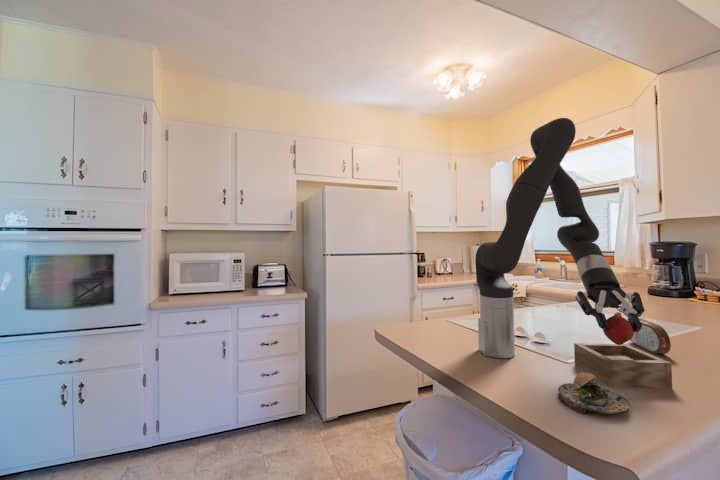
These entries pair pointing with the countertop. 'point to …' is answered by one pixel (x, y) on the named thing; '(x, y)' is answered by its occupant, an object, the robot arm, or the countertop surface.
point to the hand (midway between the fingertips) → (621, 329)
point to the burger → (590, 396)
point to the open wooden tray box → (623, 366)
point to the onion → (619, 329)
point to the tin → (652, 338)
